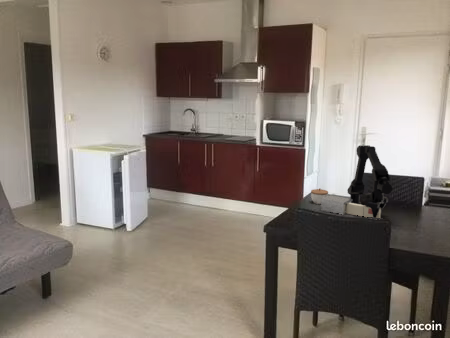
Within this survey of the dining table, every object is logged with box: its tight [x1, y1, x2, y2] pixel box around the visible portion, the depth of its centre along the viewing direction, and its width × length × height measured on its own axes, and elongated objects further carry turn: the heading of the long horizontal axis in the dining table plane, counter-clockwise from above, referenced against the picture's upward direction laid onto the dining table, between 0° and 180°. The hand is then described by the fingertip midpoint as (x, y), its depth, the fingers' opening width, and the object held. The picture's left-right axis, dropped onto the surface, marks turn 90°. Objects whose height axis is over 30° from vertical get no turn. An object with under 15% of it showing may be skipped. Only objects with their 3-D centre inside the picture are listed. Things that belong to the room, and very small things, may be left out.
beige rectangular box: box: [345, 203, 382, 219], centre depth 235 cm, size 3×19×6 cm, turn 51°
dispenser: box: [320, 194, 353, 216], centre depth 245 cm, size 11×15×8 cm
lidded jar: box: [310, 188, 329, 205], centre depth 263 cm, size 11×11×9 cm
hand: (376, 216), depth 231 cm, fingers open, 5 cm apart
